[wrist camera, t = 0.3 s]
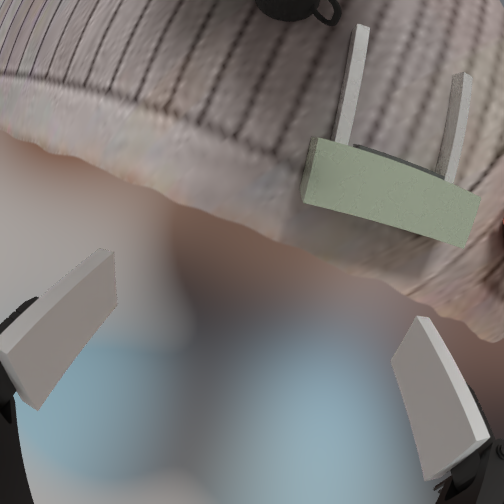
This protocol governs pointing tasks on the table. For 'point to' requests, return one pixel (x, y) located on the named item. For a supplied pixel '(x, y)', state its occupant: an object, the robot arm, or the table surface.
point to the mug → (297, 10)
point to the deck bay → (391, 168)
